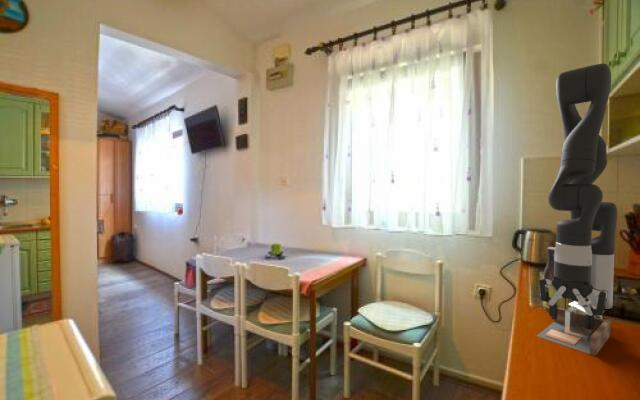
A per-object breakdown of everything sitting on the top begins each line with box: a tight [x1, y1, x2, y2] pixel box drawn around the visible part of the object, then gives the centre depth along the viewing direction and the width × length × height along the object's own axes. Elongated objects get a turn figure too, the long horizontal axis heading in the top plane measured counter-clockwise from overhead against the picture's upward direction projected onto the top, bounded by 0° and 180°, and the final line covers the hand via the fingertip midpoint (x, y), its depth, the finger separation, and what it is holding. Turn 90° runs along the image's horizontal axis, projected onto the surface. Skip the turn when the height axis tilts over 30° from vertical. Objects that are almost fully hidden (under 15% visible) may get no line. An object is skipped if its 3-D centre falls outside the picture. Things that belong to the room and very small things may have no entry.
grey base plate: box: [536, 321, 591, 355], centre depth 78 cm, size 14×11×1 cm
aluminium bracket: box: [565, 306, 593, 340], centre depth 79 cm, size 6×4×6 cm
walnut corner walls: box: [553, 308, 612, 357], centre depth 77 cm, size 14×11×4 cm
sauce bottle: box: [542, 246, 570, 313], centre depth 92 cm, size 7×6×20 cm
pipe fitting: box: [569, 301, 603, 319], centre depth 88 cm, size 8×4×7 cm
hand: (570, 323), depth 80 cm, fingers open, 6 cm apart
